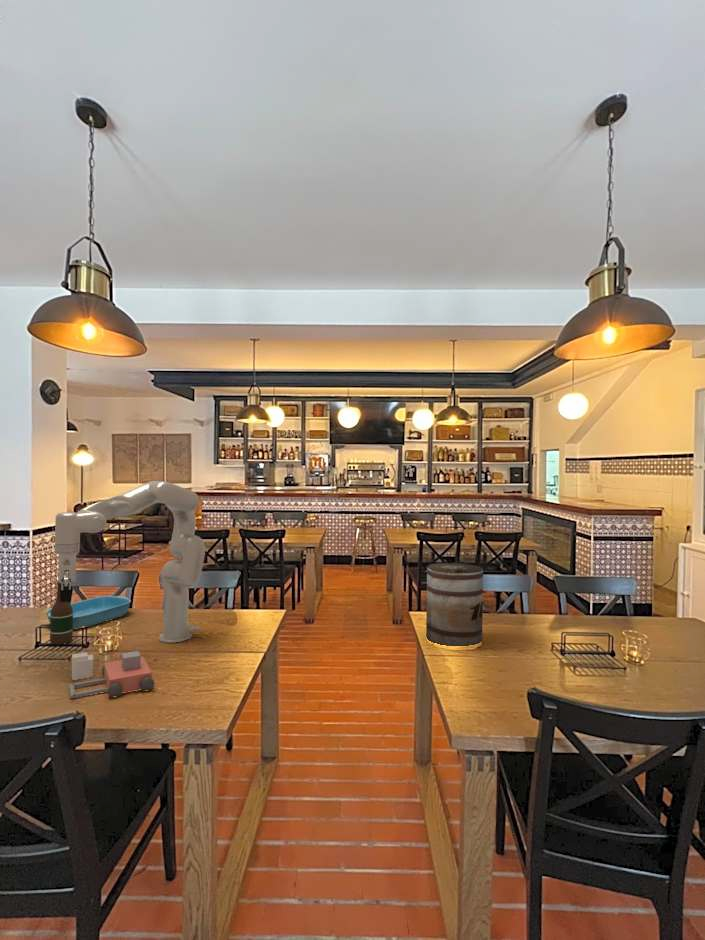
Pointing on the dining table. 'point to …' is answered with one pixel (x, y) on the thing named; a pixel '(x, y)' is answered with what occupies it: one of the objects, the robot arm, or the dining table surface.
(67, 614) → the beer bottle
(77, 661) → the stepped cream block
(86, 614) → the casserole dish
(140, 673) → the pink toy truck
